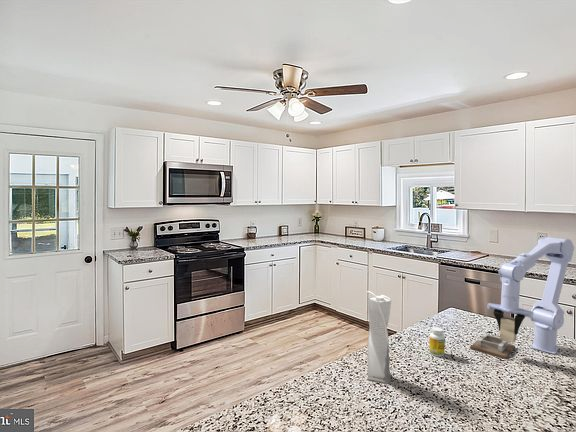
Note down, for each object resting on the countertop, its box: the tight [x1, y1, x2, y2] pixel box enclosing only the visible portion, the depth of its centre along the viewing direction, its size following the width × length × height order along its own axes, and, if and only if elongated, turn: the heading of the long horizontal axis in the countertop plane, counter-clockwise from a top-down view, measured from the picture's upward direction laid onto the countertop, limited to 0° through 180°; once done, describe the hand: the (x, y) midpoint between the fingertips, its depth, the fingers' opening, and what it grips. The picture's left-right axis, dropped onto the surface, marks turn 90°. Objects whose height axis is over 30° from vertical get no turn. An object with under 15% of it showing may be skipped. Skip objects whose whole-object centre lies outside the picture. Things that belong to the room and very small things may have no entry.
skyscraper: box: [366, 290, 392, 385], centre depth 117 cm, size 8×8×28 cm
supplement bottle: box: [428, 326, 446, 358], centre depth 135 cm, size 5×5×10 cm
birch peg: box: [499, 315, 517, 344], centre depth 133 cm, size 4×4×8 cm
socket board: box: [469, 333, 516, 360], centre depth 140 cm, size 14×12×4 cm
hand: (508, 331), depth 133 cm, fingers closed on birch peg, 4 cm apart
